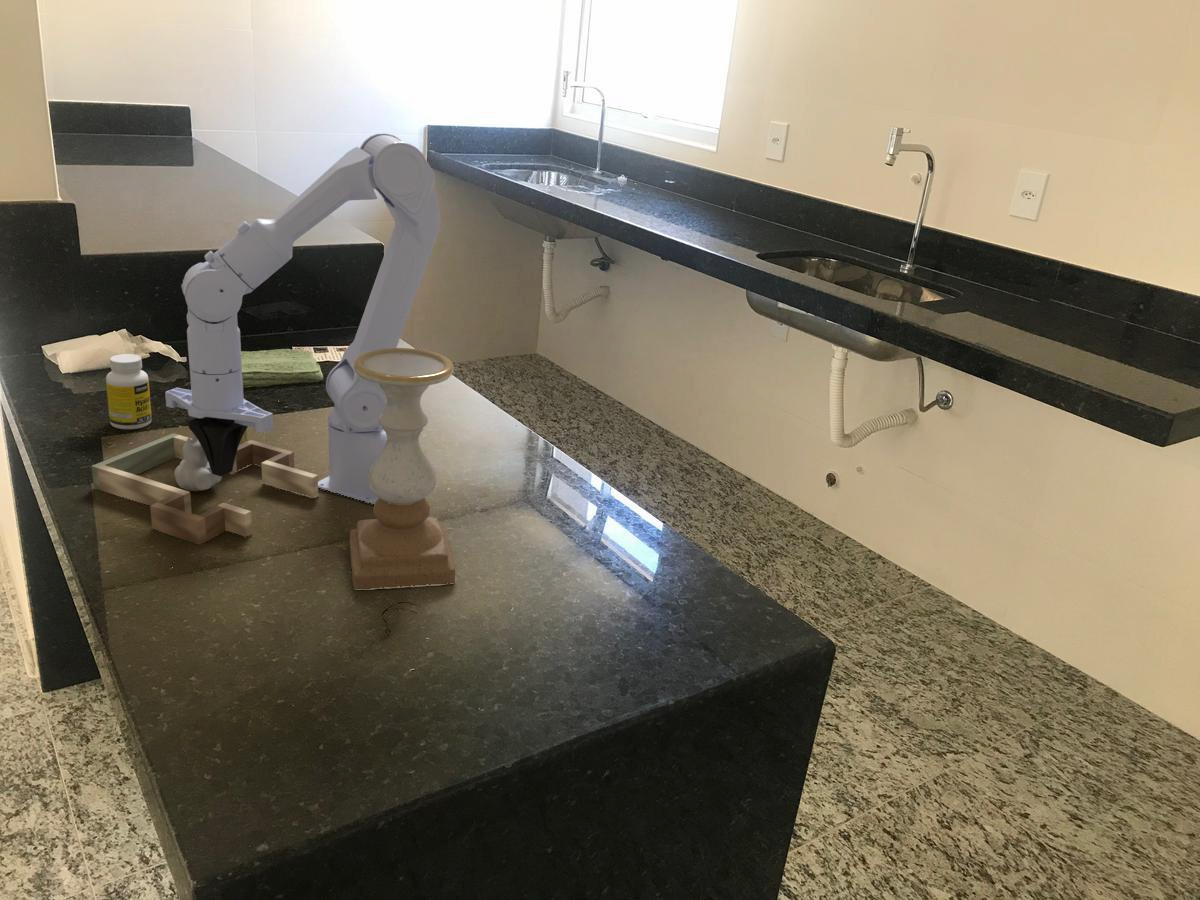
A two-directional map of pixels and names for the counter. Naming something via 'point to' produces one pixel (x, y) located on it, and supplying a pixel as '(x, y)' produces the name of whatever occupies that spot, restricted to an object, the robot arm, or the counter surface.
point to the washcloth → (279, 367)
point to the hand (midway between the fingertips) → (222, 472)
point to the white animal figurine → (195, 468)
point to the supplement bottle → (128, 393)
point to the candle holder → (401, 479)
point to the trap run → (175, 503)
